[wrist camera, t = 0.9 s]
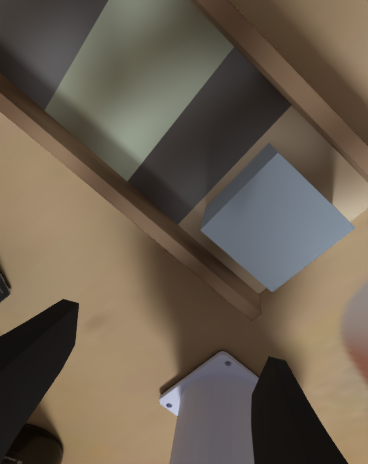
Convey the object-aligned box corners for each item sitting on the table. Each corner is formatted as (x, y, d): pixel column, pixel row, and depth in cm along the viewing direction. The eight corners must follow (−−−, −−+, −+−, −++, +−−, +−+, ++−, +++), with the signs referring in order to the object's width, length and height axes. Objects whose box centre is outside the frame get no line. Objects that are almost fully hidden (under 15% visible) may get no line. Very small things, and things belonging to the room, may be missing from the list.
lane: (388, 182, 17) (415, 196, 14) (249, 294, 21) (251, 320, 18) (51, -166, 13) (8, -229, 11) (-38, 50, 17) (-85, 40, 15)
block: (332, 204, 17) (355, 227, 14) (265, 260, 19) (272, 292, 16) (268, 142, 16) (278, 152, 13) (205, 207, 18) (200, 230, 15)
